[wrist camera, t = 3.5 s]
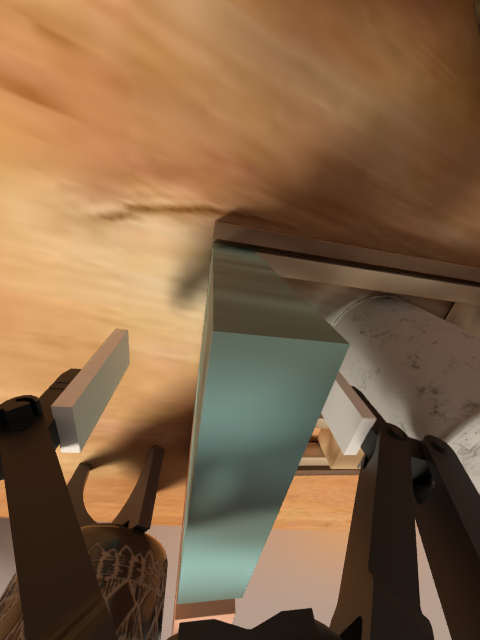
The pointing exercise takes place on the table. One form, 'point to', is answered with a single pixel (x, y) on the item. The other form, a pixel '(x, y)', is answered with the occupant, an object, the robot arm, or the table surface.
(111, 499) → the table surface
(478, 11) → the vase
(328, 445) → the oak cube
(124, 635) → the planter
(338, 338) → the can sled
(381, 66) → the table surface
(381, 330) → the speckled stone cylinder
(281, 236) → the guide frame
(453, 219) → the table surface
